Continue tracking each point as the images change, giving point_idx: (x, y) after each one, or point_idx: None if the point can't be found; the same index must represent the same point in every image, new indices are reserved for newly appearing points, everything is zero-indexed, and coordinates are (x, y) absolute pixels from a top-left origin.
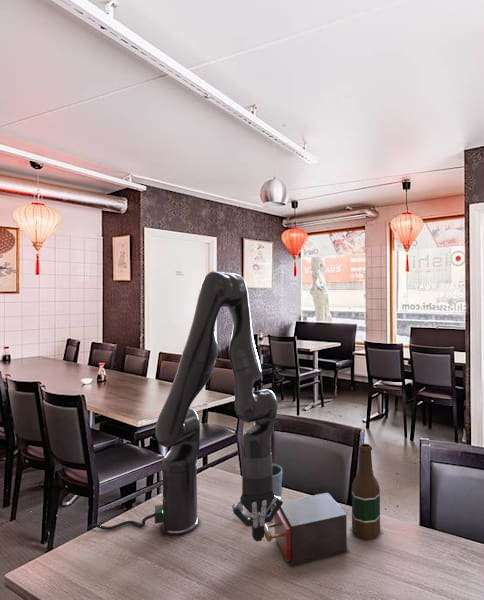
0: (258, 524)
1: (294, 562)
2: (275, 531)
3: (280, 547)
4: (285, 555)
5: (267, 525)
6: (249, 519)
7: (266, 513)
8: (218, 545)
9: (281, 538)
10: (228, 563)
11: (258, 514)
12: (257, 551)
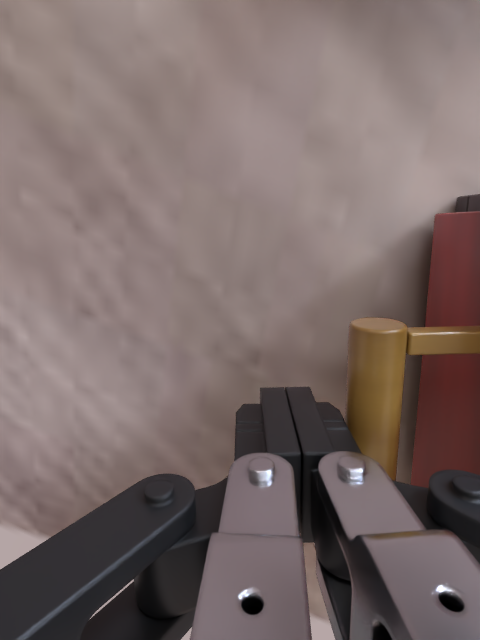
0: (308, 494)
1: None
2: (456, 235)
3: (423, 367)
4: (421, 484)
5: (411, 346)
6: (188, 580)
7: (474, 542)
8: (34, 145)
9: (461, 433)
10: (98, 356)
11: (344, 550)
12: (279, 305)
